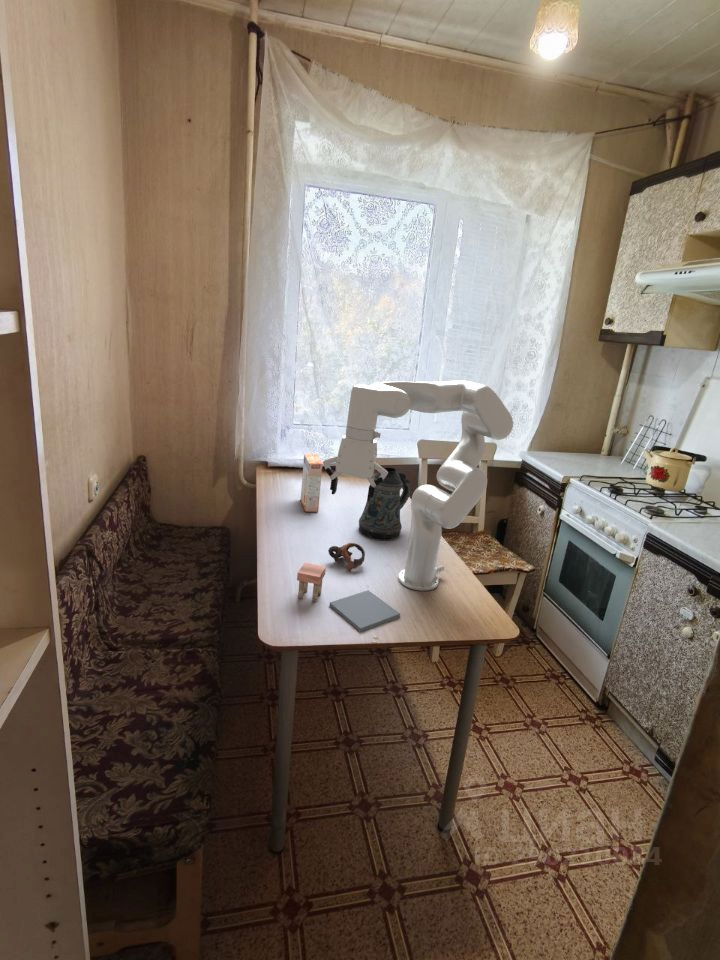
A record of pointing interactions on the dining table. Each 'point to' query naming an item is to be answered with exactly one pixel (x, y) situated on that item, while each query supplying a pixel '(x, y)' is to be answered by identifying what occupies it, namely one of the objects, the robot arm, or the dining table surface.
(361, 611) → the slate mat
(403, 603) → the dining table surface
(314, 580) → the stool
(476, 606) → the dining table surface
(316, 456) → the cracker box
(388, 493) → the beer stein
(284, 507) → the dining table surface
